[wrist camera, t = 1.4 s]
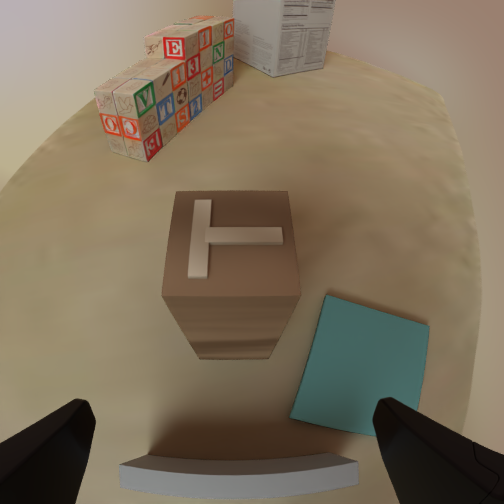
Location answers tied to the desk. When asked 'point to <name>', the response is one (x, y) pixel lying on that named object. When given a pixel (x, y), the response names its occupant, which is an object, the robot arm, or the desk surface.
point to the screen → (238, 476)
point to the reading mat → (359, 366)
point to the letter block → (231, 271)
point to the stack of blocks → (167, 85)
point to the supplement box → (282, 34)
